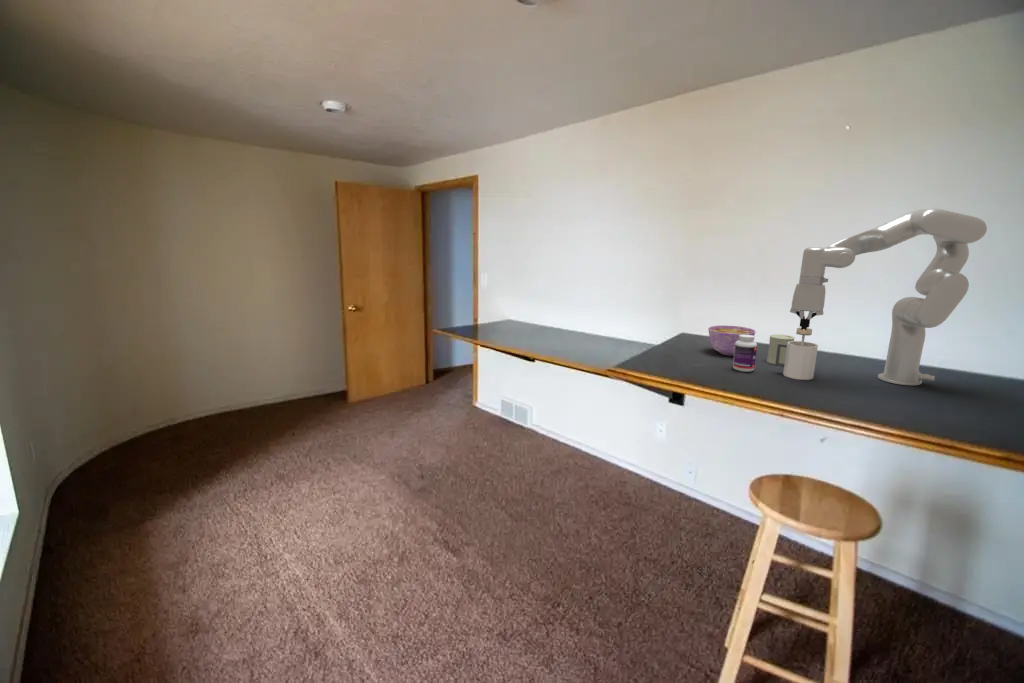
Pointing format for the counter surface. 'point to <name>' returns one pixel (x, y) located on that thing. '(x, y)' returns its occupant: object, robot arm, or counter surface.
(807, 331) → the plunger
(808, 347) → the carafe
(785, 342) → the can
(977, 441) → the counter surface
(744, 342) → the pill bottle
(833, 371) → the counter surface
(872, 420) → the counter surface
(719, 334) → the bowl of food
